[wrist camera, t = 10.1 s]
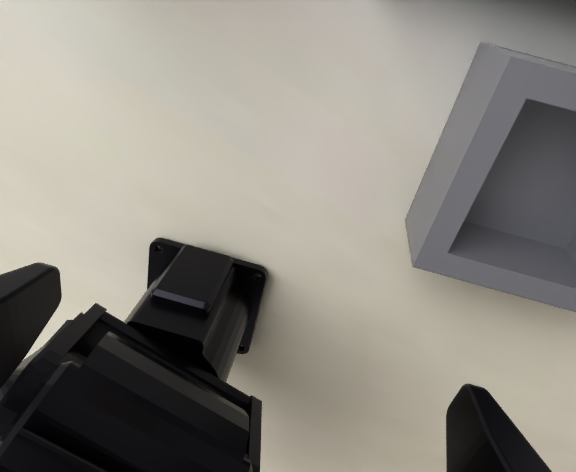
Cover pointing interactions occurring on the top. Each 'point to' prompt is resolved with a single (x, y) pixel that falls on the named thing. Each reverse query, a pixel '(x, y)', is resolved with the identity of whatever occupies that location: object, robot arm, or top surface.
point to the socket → (504, 181)
